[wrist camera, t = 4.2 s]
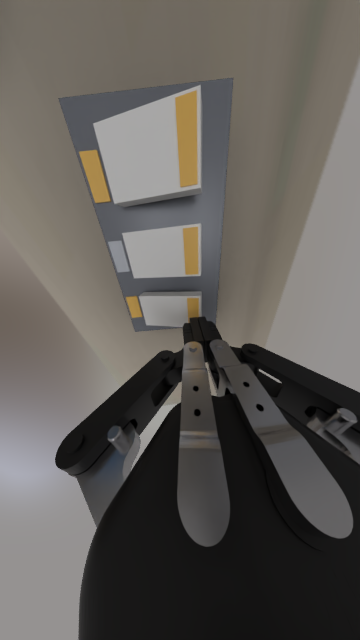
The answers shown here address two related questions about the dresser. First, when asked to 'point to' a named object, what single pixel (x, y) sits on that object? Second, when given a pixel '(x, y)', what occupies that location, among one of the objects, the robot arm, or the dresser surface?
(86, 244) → the dresser surface
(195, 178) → the rocker inner
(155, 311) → the rocker outer
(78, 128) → the switch unit
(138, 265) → the rocker middle
